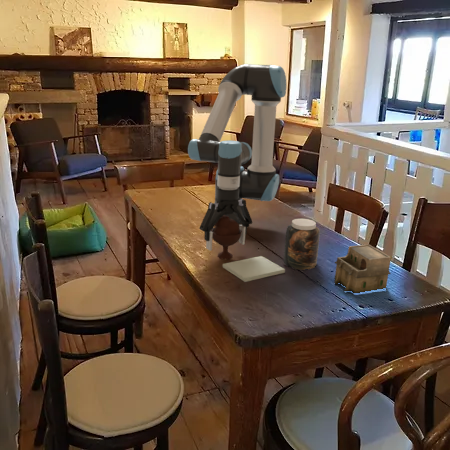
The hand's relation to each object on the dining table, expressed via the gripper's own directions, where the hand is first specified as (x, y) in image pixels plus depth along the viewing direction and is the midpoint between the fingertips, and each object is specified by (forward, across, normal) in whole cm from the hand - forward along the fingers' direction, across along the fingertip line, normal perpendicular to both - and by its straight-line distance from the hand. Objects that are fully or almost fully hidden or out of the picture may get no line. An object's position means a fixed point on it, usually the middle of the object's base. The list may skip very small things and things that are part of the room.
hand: (225, 246), depth 174 cm
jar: (+4, +20, -17) cm, 27 cm away
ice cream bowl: (+4, 0, 0) cm, 4 cm away
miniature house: (+4, +25, -39) cm, 47 cm away
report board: (+4, +2, -14) cm, 15 cm away
